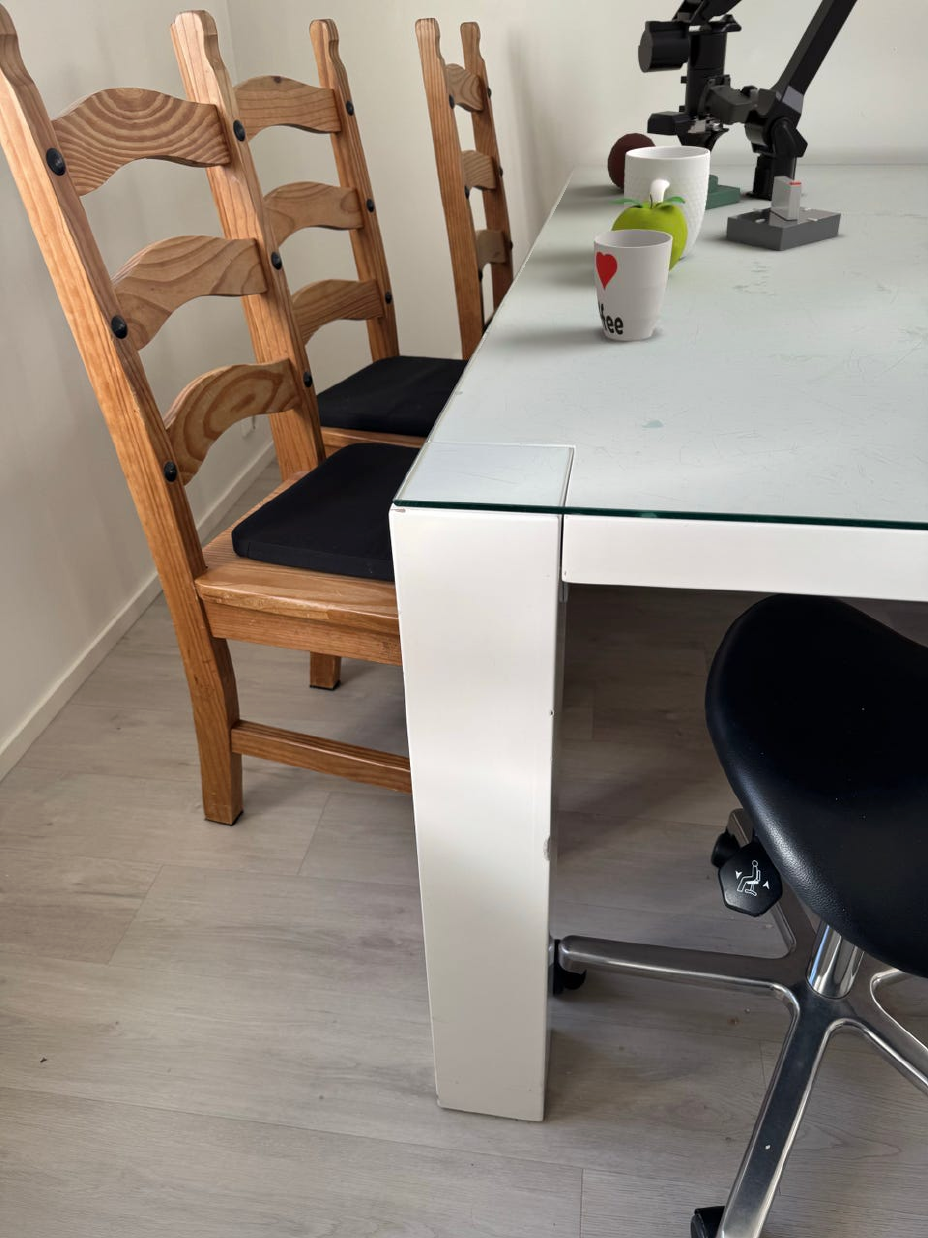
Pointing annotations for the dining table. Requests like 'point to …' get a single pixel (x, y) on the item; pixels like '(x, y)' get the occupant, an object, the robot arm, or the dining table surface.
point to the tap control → (720, 193)
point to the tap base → (782, 228)
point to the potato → (624, 155)
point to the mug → (670, 181)
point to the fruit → (656, 222)
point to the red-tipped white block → (786, 197)
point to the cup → (631, 281)
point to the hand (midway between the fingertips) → (697, 176)
